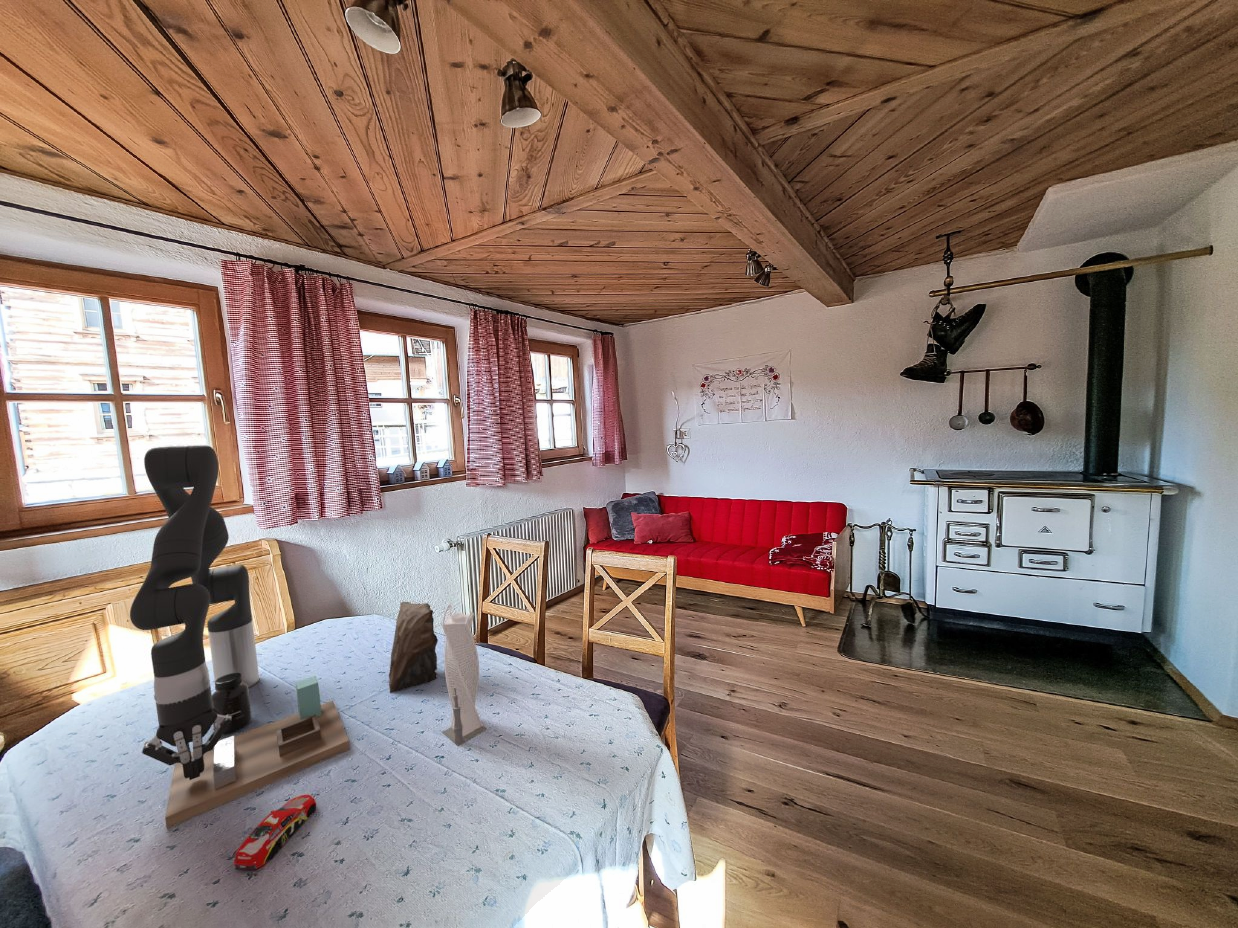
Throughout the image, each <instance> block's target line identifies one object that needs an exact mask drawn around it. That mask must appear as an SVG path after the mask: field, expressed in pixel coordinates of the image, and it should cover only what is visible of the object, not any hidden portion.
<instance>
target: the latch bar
mask: <svg viewBox="0 0 1238 928" xmlns="http://www.w3.org/2000/svg"><path fill="white" fill-rule="evenodd" d="M234 736H235V735H231V736H229V737H226V738H223V739H220V740H219V741H218V743H217V744H216V745H215V750H214V767H213V778H214V785H215V789H218V788H220V787H222V786H225V785H227V784H230V783H232V782H234V781H236V748H235V740H234Z"/></svg>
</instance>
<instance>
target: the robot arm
mask: <svg viewBox="0 0 1238 928" xmlns="http://www.w3.org/2000/svg"><path fill="white" fill-rule="evenodd" d="M217 456H218V455H217V452H216V451H215V449H214V448H213V447H211V446H209V445H207V444H187V445H186V444H185V445H161V446H154V447H151V448H150V449H148V450H147V451H146V453H145V455H144V459H143V463H144V464H143V465H144V470H145V473H146V476H147V478H148V481H149V483H150V485H151V487H152V489H153V490H154V492H155V493H156V495H157V498H158V499H159V502H160V503H161V504H162V506H163V509H164V510H165V512H166V515H167V517H168V519H167V520H166V521H165V522H164V523H163V525H162V526H161V527H160V528H159V530H158V532H157V533H156V535H155V537H154V541H153V542H154V543H153V547H152V554H151V562H150V567H149V570H148V572H147V574H146V577H145V579H144V580H143V583H142V585H141V587H140V588H139V590H138V592H137V593H136V596H135V597H134V599H133V602H132V604H131V607H130V611H129V619H130V621H131V624H132V625H133V627H135V628H136V629H138V630H140V631H152V630H157V629H163V628H168V627H171V626H172V627H173V626H178V625H182V624H184V627H185V628H184V629H183V630H182V631H180V632H178V633H175V634H173V635H170V636H167V637H165V638H162V639H160V640H159V641H156V642H155V643H154V644H153V645H152V647H151V650H150V651H151V652H150V656H151V658H150V659H151V662H152V669H153V680H154V681H153V693H154V694H153V699H154V701H155V706H156V713H157V715H156V716H157V721H158V728H157V729H156V732H155V733H156V734H155V736H154V737H152V738H151V739H150V740H148V741H146V742H145V743H144V744H143V747H142V751H141V753H142V755H145V756H147V757H150V758H152V759H154V760H156V761H158V762H161V763H163V764H165V765H168V766H173V765H174V766H175V763H181V764H182V765H183V773H184V777H185V778H189V780H192V779H194V778H197V777H200V773H202V772H203V771H204V766H205V765H204V757H203V755H204V754H205V753H206V752H208V751H211V750H213V748H214V747H215V745H216V744H217V743H218V741H220V740H221V738H222V737H223V736H224V735H223V734H224V733H225V731H226V730H227V728H228V727H229V725H230V724H231V714H227V715H225V716H224V715H219V714H218V712H217V710H216V709H214V707H213V702H212V694H213V693H212V687H211V686H212V685H211V678H210V673H209V669H208V665H207V661H206V654H205V646H204V629H205V625H206V624H207V631H208V641H209V648H210V654H211V664H212V671H213V679H214V682H215V681H216V680H217V679H218V678H220V677H222V676H224V675H227V674H231V673H241V675H242V680H243V681H242V683H245V684H246V685H247V686H248V688H250V687H252V686H254V685H256V683H258V682H259V680H260V674H259V665H258V664H259V663H258V657H257V655H258V654H257V648H256V647H257V646H256V639H255V632H254V630H255V629H254V624H253V621H254V620H253V615H252V605H251V596H250V578H249V571H248V568H247V567H246V566H245V565H243V564H237V565H229V566H223V567H217V568H212V569H211V568H210V567H211V566H212V564H213V563H214V561H216V559H217V558H218V557H219V556H220V554H221V553H223V551H224V549H225V548H226V546H227V544H228V541H229V539H230V538H229V537H230V536H229V532H228V528H227V524H226V522H225V519H224V516H223V515H222V514H221V513H220V512H219V511H218V510H217V509H215V508H214V507H212V506H211V505H212V501H213V497H214V494H215V491H216V485H217V481H218V477H219V461H218V460H219V459H218V457H217ZM186 488H192V491H191V493H189V492H188V491H187V490H186ZM188 578H190V579H191V583H190V584H184V585H178V586H172V585H174V584H175V583H178V582H180V581H183V580H186V579H188ZM231 601H234V603H233V604H232V605H231V606H230V607H227V608H226V609H224V610H222V611H221V612H219V613H217V614H214V615H213V616H212V617H210V618H209V619H208V620H207V616H208V612H209V608H210V605H214V604H215V605H217V604H220V603H226V602H231ZM206 620H207V623H206ZM214 722H216V724H215V728H216V729H215V730H214V729H213V731H212V734H211V735H210V736H209V738H208V739H207V741H206V742H204V741H203V740H204V739H203V738H204V737H206V735H207V733H208V732H209V731H210V729H211V728H212V727H213V723H214ZM163 742H164V743H166V744H168V745H170V746H172V747H176V750H177V751H175V750H173V749H170V748H169V747H166V746H164V745H163ZM203 742H204V743H203ZM190 743H192V751H191V747H190ZM191 752H193V755H192V756H191Z"/></svg>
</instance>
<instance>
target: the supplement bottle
mask: <svg viewBox="0 0 1238 928" xmlns="http://www.w3.org/2000/svg"><path fill="white" fill-rule="evenodd" d="M242 681H243V680H242V675H241V673H231V674H227V675H224V676H222V677H220V678H218V679H217V680H216V681H214V690H215V691H214V692H213V693H211V694H212V702H213V707H214V709H216V710H217V712H218V714H219V715H224V716H225V715H227V714H231V724H230V725H229V727H228V728H227V730H226V731H225V733H224V734H223V735H222V736H225V735H230V734H234V733H236V732H238V731H240V730H242V729H244V728H245V727H247V726H248V725H249V723H250V722H251V721H252V711H251V701H250V699H251V698H250V690H249V687H248V686H247V685H246V684H245V683H242ZM215 724H216V722H214V723H213V725H212V728H213V731H214V730H215V729H216V728H215Z"/></svg>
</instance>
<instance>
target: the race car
mask: <svg viewBox="0 0 1238 928" xmlns="http://www.w3.org/2000/svg"><path fill="white" fill-rule="evenodd" d="M316 808H317V802H316V799H315V798H314V796H312V795H310V794H303V795H299V796H296V797H293V798H291V799H289V800H288V801H287V802H286V803H284V804H283V805H282V806H280V807H279V808H278V809H276V810H271V811H270V813H269V814H268V815H267V816H266V817H265V818H264V819H262V820H261V822H260V823H258V824H257V826H256V827H255V828H254V830H253V831H252V832H251V833H250V834H249V835H248V837H247V838H246V839H245V840H244V841H243V843H242V844H241V845H240V846H239V847H238V849H237V850H236V852H235V855H234V861H233V863H234V869H235V870H243V871H244V870H245V871H247V870H249V871H253V870H255V869H259V868H261V867H262V866H265V865H266V864H267V863H268V862H269V861H270V860H273V859H274V857H275V856H276V855H277V854H278V853H279V851H280V849H282V848H283V847H284V845H285V844H286V843H287V842H288V841H289V840H290V839H291V838H292V837H293V835H294V834H295V833H296V832H297V831H298V830H299V829H300V828H301V827H302V825H303V824H304V823H305V822H306V821H307V820H308V819H309V818H311V817H312V815H313V814H314V813H315V812H316Z"/></svg>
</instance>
